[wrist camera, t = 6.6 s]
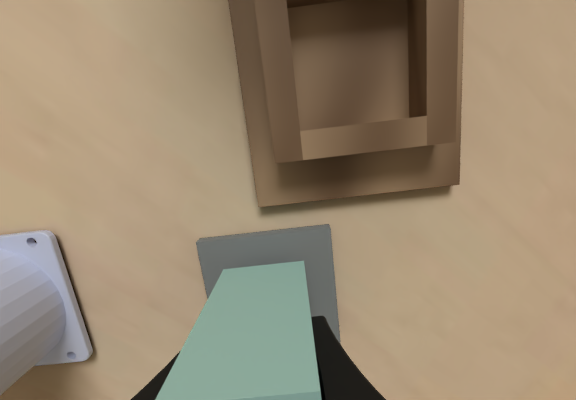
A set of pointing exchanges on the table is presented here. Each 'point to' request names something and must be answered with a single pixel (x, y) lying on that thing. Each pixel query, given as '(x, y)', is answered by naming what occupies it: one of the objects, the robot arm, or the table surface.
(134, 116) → the table surface
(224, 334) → the block
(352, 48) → the pocket board
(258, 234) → the pad
